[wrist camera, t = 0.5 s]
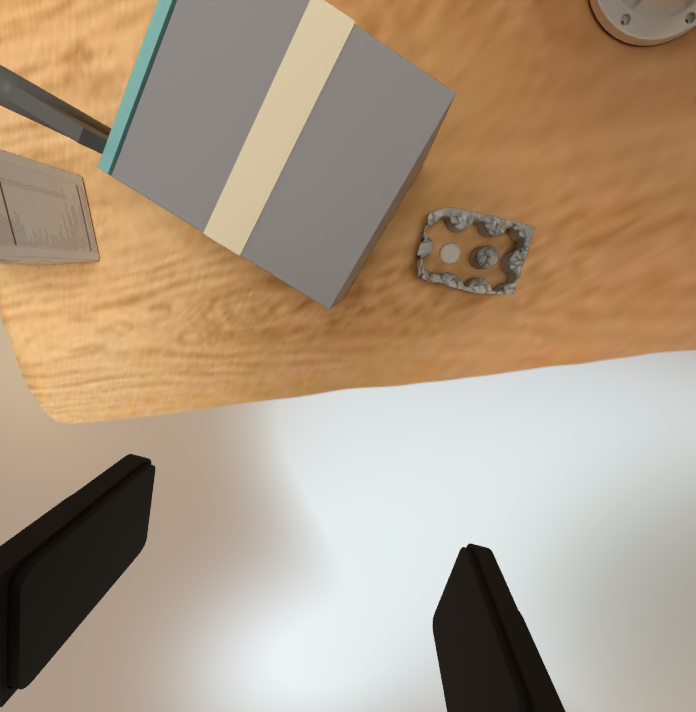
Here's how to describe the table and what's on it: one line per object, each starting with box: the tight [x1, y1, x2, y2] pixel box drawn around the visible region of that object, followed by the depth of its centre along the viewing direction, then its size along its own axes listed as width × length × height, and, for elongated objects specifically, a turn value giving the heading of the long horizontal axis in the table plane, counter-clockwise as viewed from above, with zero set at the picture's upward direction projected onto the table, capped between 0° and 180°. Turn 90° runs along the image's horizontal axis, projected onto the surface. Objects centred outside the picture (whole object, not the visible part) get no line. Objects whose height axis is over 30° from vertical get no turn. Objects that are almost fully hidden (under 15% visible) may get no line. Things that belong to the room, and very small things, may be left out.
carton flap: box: [0, 0, 177, 175], centre depth 27 cm, size 16×8×16 cm, turn 149°
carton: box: [112, 0, 456, 309], centre depth 29 cm, size 16×18×14 cm
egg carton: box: [416, 207, 535, 294], centre depth 35 cm, size 11×8×4 cm
